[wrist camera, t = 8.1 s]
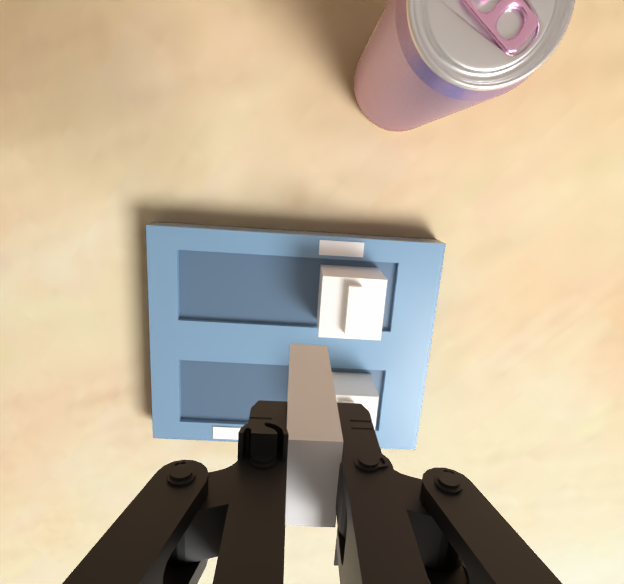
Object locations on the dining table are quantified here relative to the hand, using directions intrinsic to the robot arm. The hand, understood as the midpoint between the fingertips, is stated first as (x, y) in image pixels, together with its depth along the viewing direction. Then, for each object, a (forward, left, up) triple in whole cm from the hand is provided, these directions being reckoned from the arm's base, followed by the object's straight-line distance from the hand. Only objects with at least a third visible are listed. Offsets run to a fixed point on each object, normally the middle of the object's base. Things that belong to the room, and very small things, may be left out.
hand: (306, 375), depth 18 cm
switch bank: (-1, -4, -15) cm, 15 cm away
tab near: (+3, 0, -13) cm, 14 cm away
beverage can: (+5, +14, -15) cm, 21 cm away
